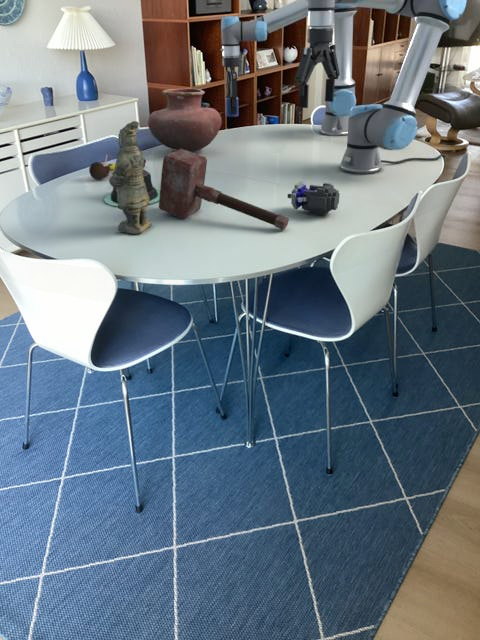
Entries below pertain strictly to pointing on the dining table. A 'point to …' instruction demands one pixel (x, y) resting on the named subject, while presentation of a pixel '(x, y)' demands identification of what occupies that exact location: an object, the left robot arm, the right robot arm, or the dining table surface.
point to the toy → (315, 198)
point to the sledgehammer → (200, 190)
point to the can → (228, 109)
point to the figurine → (102, 169)
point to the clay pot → (185, 121)
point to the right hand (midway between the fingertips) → (316, 104)
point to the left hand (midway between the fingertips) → (232, 112)
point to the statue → (131, 182)
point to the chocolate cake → (152, 192)
